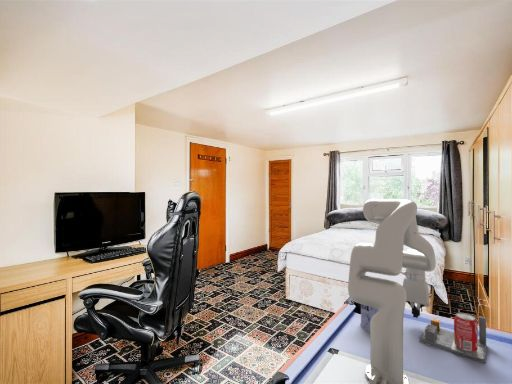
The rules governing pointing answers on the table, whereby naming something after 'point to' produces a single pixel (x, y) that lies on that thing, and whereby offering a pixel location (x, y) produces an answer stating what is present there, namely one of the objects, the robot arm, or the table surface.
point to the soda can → (465, 332)
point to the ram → (432, 330)
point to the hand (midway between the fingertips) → (415, 316)
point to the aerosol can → (367, 316)
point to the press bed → (447, 342)
